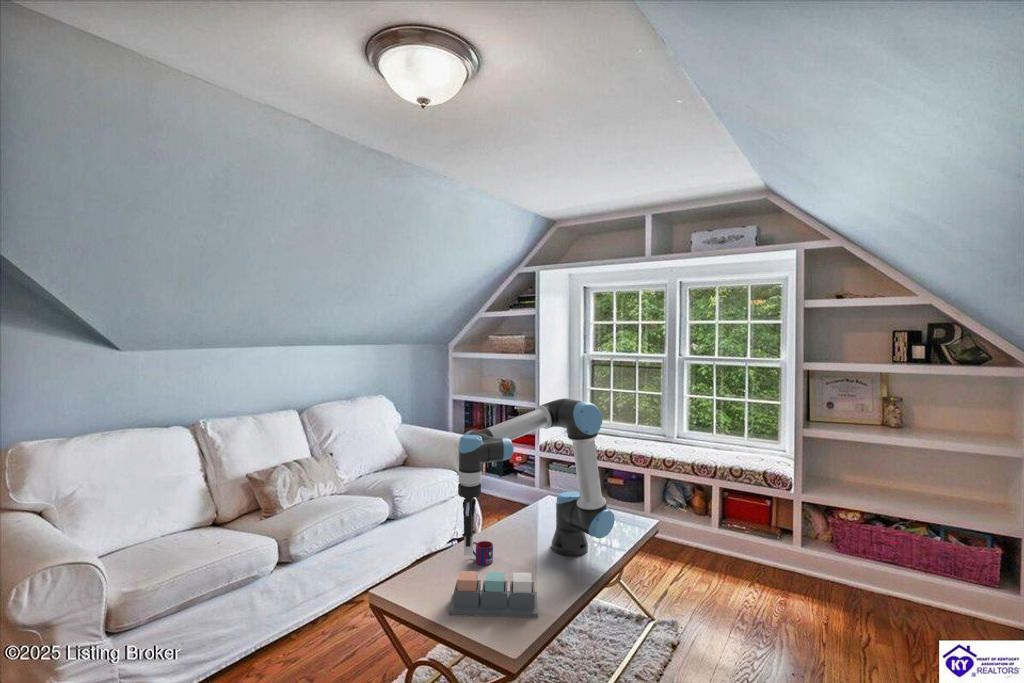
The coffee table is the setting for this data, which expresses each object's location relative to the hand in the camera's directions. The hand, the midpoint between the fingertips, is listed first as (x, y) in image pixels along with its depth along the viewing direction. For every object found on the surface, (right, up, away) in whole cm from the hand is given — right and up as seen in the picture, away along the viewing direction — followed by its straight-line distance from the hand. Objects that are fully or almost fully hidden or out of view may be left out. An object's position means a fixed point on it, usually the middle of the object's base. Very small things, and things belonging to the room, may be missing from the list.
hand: (468, 554), depth 158 cm
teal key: (+9, -12, 0) cm, 15 cm away
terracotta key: (0, -12, 0) cm, 12 cm away
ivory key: (+18, -13, 0) cm, 22 cm away
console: (+9, -17, 0) cm, 19 cm away
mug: (+2, -16, +31) cm, 35 cm away
